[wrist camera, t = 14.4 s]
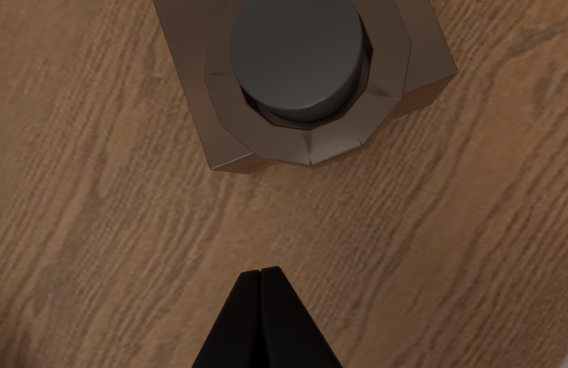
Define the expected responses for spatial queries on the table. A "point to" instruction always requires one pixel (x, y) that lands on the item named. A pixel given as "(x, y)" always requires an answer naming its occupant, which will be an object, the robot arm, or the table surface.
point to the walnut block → (317, 133)
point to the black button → (297, 55)
